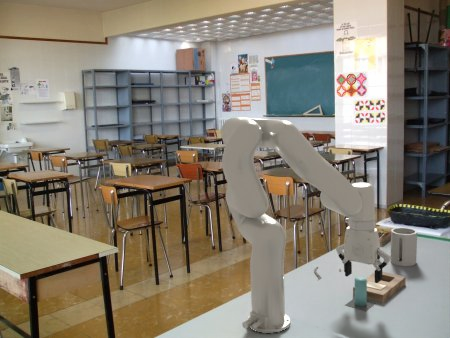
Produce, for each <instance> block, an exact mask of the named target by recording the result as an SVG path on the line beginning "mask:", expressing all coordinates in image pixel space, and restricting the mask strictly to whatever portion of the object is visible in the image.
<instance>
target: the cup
mask: <svg viewBox="0 0 450 338" xmlns="http://www.w3.org/2000/svg"><path fill="white" fill-rule="evenodd" d="M417 244H418V231H417V230H416V229H414V228H409V227H394V228H391V230H390V257H391V259H390V262H391V263H392V264H393V265H396V266H400V267H411V266H412V267H413V266H414V265H416V264H417V252H418V251H417V250H418V249H417V248H418V245H417ZM400 259H401V260H400Z"/></svg>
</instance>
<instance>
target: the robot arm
mask: <svg viewBox="0 0 450 338" xmlns="http://www.w3.org/2000/svg"><path fill="white" fill-rule="evenodd" d="M220 129H221V130H220V136H221V138H222V141H223V142H224V144H225V146H224V149H223V153H222V159H221V166H222V167H221V168H222V171H223V174H224V177H225V180H226V183H227V185H228V186H227V187H226V191H225V201H226V204H227V207H228V209H229V211H230V214H231V216H232V218H233V220H234V222H235V224H236V227H237V229H238V231H239V233H240V235H241V236H242V237H243V239H245V240H246V241H247V242H248V243H249V244H250V245H251V254H250V259H249V260H250V262H249V266H250V267H249V270H250V295H251V296H250V298H251V300H250V302H251V303H250V304H251V311H250V313H249V315H248V316H247V318H246V320H245V321H242V327H243V329H246V330H247V329H248V328H249V327H250V328H252V329H254V330H256V331H258V332H257V333H259V332H262V333H261V334H266V333H271V334H274V333H273V332H278V333H280V332H279V331H281V330H284V331H286V330H287V329H288V328H290V326H291V317H290V316H289V315H287V314H286V309H285V307H286V305H285V303H286V302H285V267H284V264H285V262H284V261H285V250H286V244H287V236H286V235H287V233H286V231H285V228H284V227H283V226H282V224H281V223H280V222H278V220H276V219H274V218H273V217H272V216H270V215H268V214H267V213H266V212H267V211H268V208H269V198H268V195H267V192H266V191H265V189H264V186H263V185H262V182H261V179H260V177H259V175H258V172H257V169H256V166H255V161H254V159H255V154H256V152H257V150H258V148H261V149H262V148H265V149H273V150H274V151H275V152H276V153H277V154H278V155H279V156H280V157H281V158H282V160H284V162H285V163H286V164H287V165H288V167H290V168H291V170H292V171H293V172H294V173H295V174H296V175H297V176H298V177H299V178H301V179H302V181H304V182H306V183H308V184H309V185H310V186H313V187H314V188H316V189H317V190H318V191H320V195H319V200H320V202H321V204H322V206H324V207H325V208H326V209H328V210H330V211H332V212H335V213H338V214H340V215H341V216H344V217H348V218H345V219H344V223H347V225H348V226H347V227H346V229H345V231H344V232H345V233H344V239H343V240H344V243H343V244H342V245H339V246H337V247H336V248H335V250H336V253H337V254H338V258H339V259H340V260H341V263H342V264H343V272H344V275H345V277H349V276H350V275H351V274H352V273H353V272H352V271H353V270H352V268H353V267H352V266H353V265H352V264H353V263H352V262H354V263H360V264H364V265H365V264H366V265H373V267H374V268H375V269H374V272H375V283H378V282H379V281H381V280H382V272H383V269H384V268H385V267H386V266H387V265H388V264H389V263H390V262H391V255H389V254H388V253H386V252H385V251H383V250H382V249H381V244H380V243H381V242H380V237H379V231H378V229H377V228H376V222H375V221H376V219H375V217H376V216H375V213H376V211H375V210H376V209H375V207H376V206H375V188H374V185H373V184H371V183H369V182H353V183H351V182H350V181H349V180H348V179H347V177H346V176H344V175H343V174H342V173H341V172H340V171H339V170H338V169H337V168H335V167H334V166H333V165H332V164H331V163H330V162H329V161H328V160H326V159H325V158H324V157H323V156H322V155H321V154H320V153H319V152H318V151H317V150H316V148H315V147H314V146H313V145H312V144H311V142H310V141H309V140H308V139H307V138H306V136H304V134H303V133H302V132H301V131H300V130H299V128H298V127H297V126H296V125H295V124H294V123H292V122H291V121H289V120H281V119H278V118H277V119H276V118H273V119H272V118H253V117H251V118H250V117H239V116H238V117H237V116H235V117H230V118H228V119H227V120H225V121H224V123H223V125H221V128H220ZM381 258H382V259H383V262H382V261H381ZM250 328H249V329H250ZM286 328H287V329H286ZM252 329H251V330H252ZM285 329H286V330H285ZM256 331H255V332H256Z"/></svg>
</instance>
